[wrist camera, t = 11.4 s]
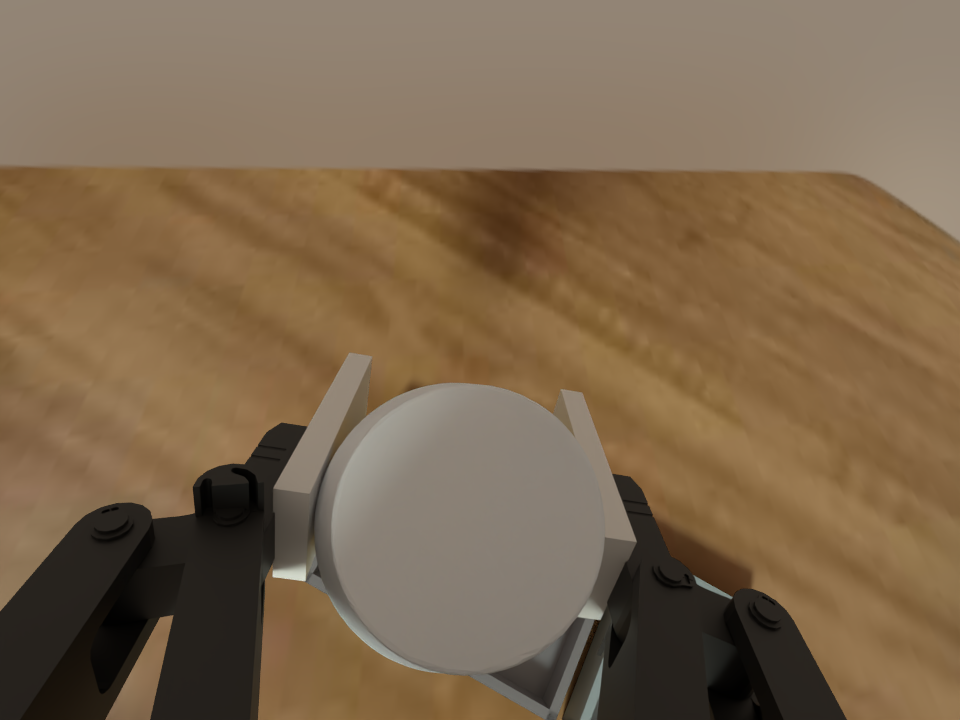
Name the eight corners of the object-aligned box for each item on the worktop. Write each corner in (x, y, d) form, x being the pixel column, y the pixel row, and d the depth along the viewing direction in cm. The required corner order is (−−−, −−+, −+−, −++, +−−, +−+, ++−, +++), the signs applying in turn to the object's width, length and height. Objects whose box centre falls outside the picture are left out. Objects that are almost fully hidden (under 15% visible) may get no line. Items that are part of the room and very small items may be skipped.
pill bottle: (489, 413, 21) (578, 296, 10) (542, 569, 19) (723, 643, 8) (335, 461, 19) (234, 388, 8) (378, 634, 17) (324, 833, 7)
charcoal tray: (400, 417, 37) (399, 411, 34) (612, 536, 36) (626, 537, 34) (306, 573, 33) (298, 578, 30) (543, 709, 32) (554, 724, 30)
